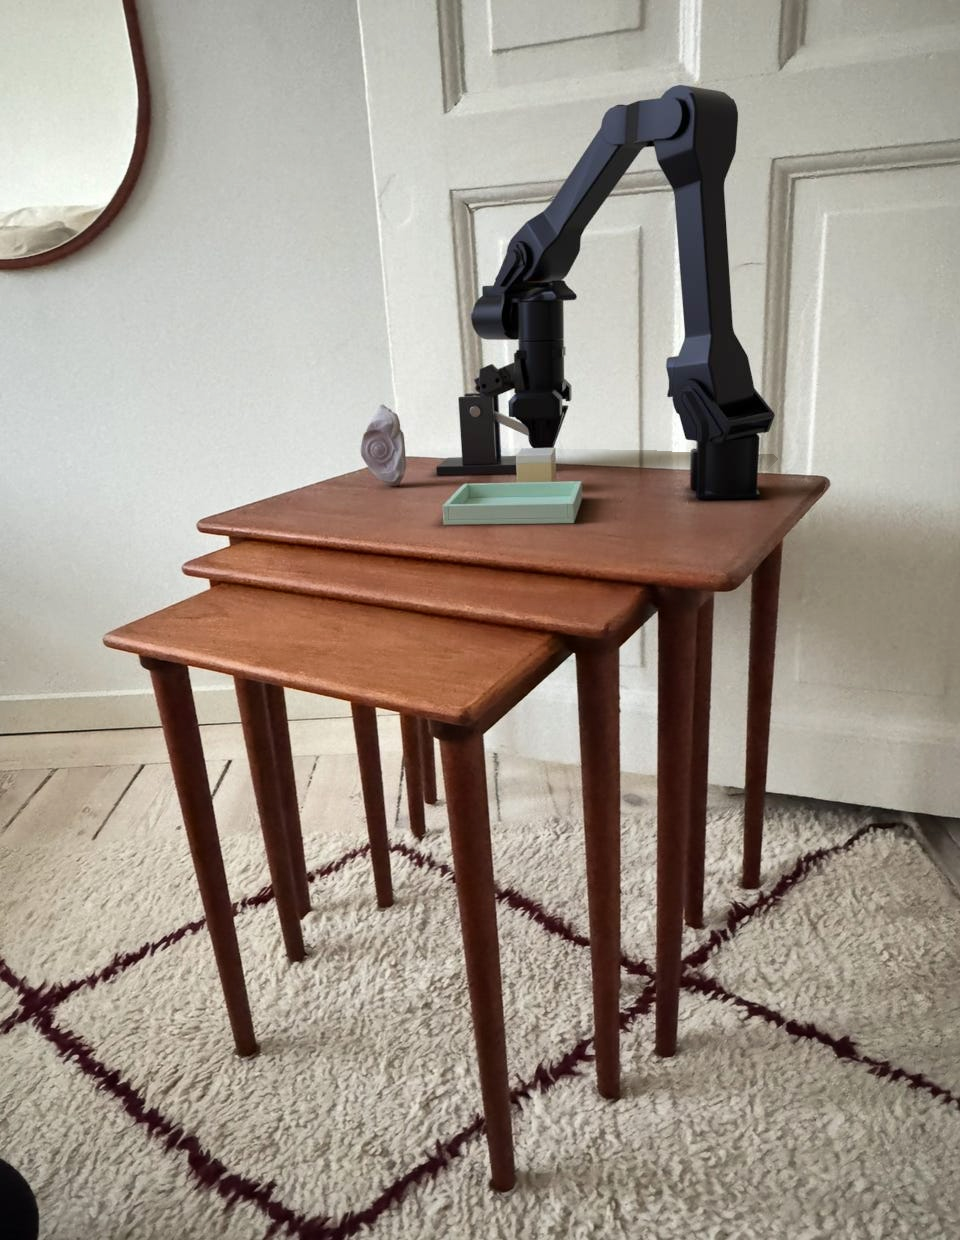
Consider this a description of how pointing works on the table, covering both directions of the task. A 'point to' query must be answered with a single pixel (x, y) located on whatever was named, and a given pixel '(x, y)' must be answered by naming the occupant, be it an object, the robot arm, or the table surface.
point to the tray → (514, 503)
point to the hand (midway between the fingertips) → (543, 464)
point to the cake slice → (536, 465)
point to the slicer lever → (512, 424)
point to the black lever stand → (478, 440)
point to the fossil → (384, 447)
